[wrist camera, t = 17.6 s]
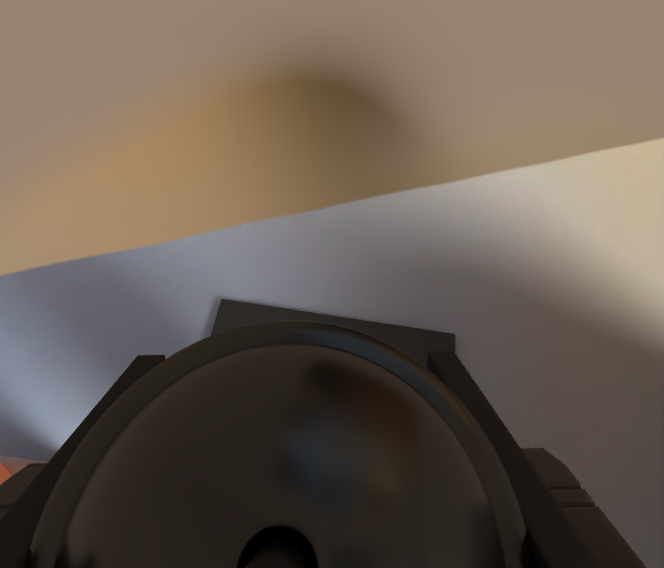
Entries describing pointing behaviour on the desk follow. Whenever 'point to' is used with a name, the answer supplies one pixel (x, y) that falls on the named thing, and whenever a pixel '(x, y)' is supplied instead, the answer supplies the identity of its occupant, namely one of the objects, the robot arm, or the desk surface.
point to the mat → (397, 336)
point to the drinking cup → (284, 464)
